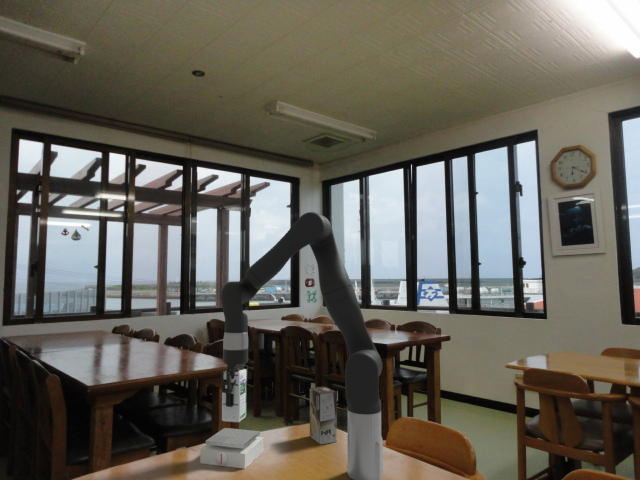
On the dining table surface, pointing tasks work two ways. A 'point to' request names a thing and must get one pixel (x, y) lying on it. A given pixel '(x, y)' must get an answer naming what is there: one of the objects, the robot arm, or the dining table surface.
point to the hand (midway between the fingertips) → (234, 403)
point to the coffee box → (323, 415)
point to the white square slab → (232, 454)
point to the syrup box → (236, 399)
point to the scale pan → (233, 438)
